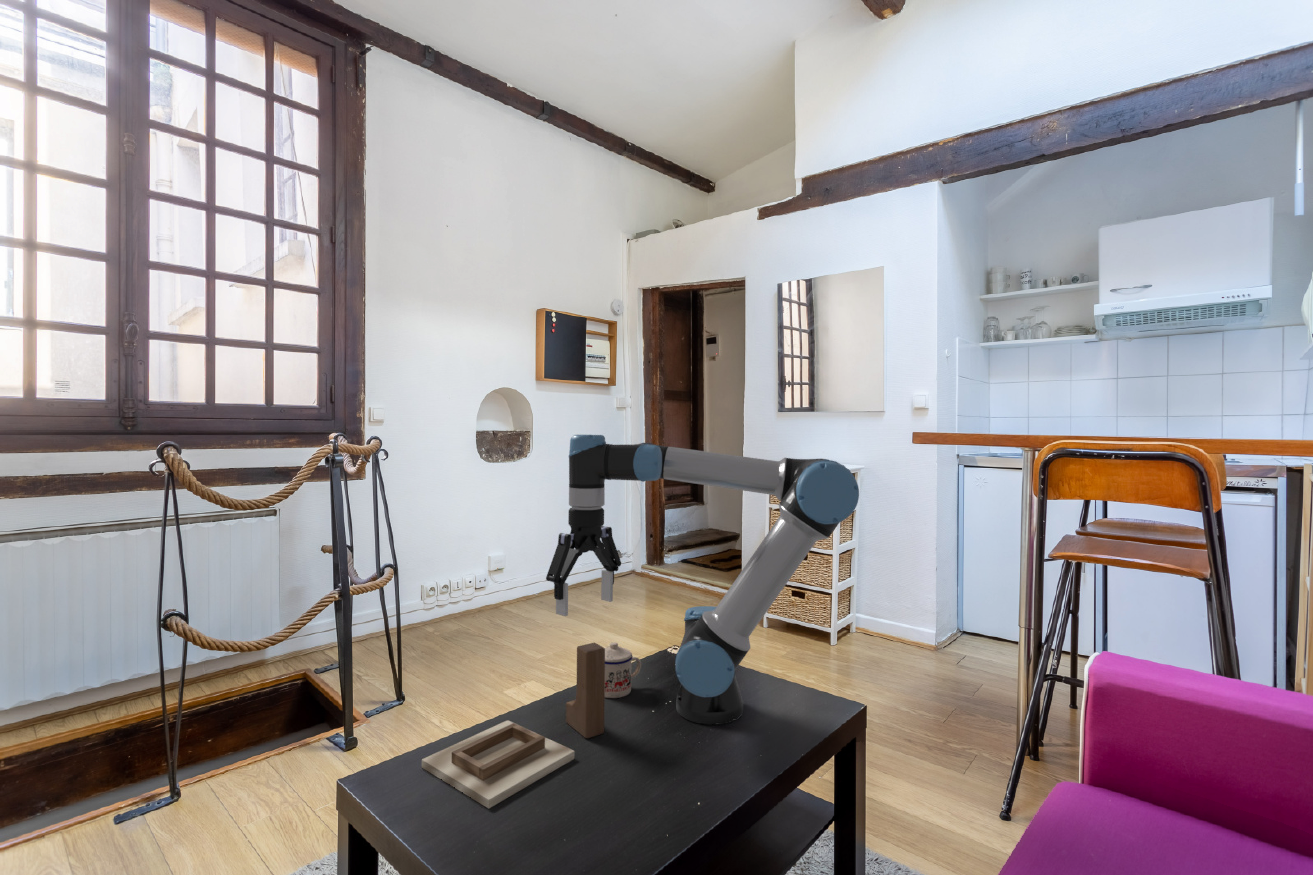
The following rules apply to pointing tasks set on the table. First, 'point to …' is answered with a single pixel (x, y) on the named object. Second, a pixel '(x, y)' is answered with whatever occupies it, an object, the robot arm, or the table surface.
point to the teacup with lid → (618, 671)
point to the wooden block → (588, 692)
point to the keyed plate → (497, 762)
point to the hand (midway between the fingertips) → (585, 607)
